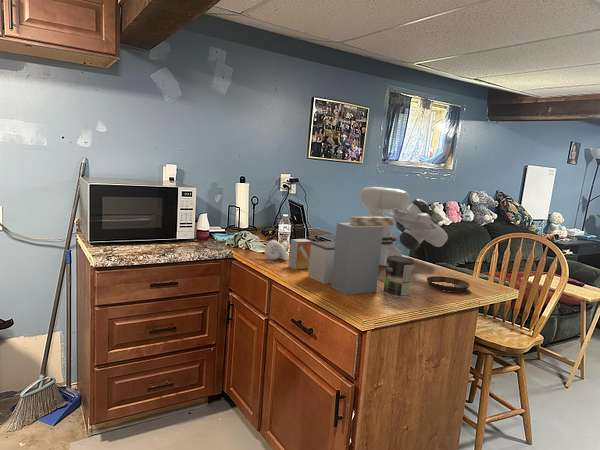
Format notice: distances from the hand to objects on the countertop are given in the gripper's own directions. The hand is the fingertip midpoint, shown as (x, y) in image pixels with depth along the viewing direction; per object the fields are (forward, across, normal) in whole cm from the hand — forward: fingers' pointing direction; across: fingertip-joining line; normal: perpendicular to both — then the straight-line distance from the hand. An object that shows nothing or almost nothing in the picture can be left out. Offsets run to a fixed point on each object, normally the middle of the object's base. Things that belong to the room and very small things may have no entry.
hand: (401, 211), depth 182 cm
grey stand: (+10, -7, -40) cm, 41 cm away
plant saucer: (-30, -14, -20) cm, 39 cm away
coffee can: (-3, -16, -33) cm, 37 cm away
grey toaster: (+9, +9, -39) cm, 41 cm away
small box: (+15, +28, -42) cm, 53 cm away
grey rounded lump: (+18, +46, -44) cm, 66 cm away
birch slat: (+16, -7, -14) cm, 22 cm away
